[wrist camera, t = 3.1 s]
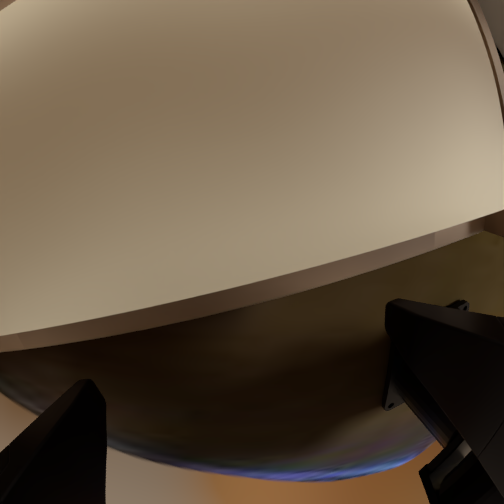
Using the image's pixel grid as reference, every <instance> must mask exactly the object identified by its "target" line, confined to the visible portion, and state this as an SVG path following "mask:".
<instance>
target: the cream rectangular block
mask: <svg viewBox="0 0 504 504" xmlns="http://www.w3.org/2000/svg"><path fill="white" fill-rule="evenodd" d="M501 210H504V126H503V119H502V113H501V107H500V102H499V97H498V92H497V87H496V83H495V79H494V75H493V71H492V67H491V64H490V60H489V57H488V54H487V51H486V48H485V45H484V42H483V39H482V36H481V33H480V30H479V28H478V25H477V23H476V20H475V18H474V15H473V13H472V11H471V8H470V6H469V4H468V2H467V0H16V1H15V2H13V3H11V4H10V5H8V6H7V7H5V8H4V9H2V10H1V11H0V336H3V335H9V334H15V333H21V332H26V331H32V330H38V329H43V328H49V327H54V326H59V325H65V324H70V323H75V322H80V321H85V320H90V319H95V318H100V317H105V316H110V315H115V314H120V313H124V312H129V311H134V310H138V309H143V308H148V307H152V306H157V305H161V304H166V303H170V302H174V301H179V300H183V299H187V298H192V297H196V296H200V295H205V294H209V293H213V292H217V291H221V290H225V289H230V288H234V287H238V286H242V285H246V284H250V283H254V282H258V281H262V280H266V279H270V278H273V277H277V276H281V275H285V274H289V273H293V272H297V271H300V270H304V269H308V268H312V267H315V266H319V265H323V264H326V263H330V262H334V261H337V260H341V259H345V258H348V257H352V256H355V255H359V254H362V253H366V252H369V251H373V250H376V249H380V248H383V247H387V246H390V245H393V244H397V243H400V242H404V241H407V240H410V239H414V238H417V237H420V236H423V235H427V234H430V233H433V232H436V231H440V230H443V229H446V228H449V227H452V226H455V225H459V224H462V223H465V222H468V221H471V220H474V219H477V218H480V217H483V216H486V215H489V214H492V213H495V212H498V211H501Z"/></svg>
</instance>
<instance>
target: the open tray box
mask: <svg viewBox="0 0 504 504" xmlns="http://www.w3.org/2000/svg"><path fill="white" fill-rule="evenodd" d="M15 1H16V0H0V11H1V10H2V9H4V8H5V7H7V6H8V5H10V4H11V3H13V2H15ZM467 2H468V4H469V6H470V8H471V11H472V13H473V15H474V18H475V20H476V23H477V25H478V28H479V30H480V33H481V36H482V39H483V42H484V45H485V48H486V51H487V54H488V57H489V60H490V64H491V67H492V71H493V75H494V79H495V83H496V87H497V92H498V97H499V102H500V107H501V113H502V119H503V126H504V73H503V69H502V65H501V62H500V59H499V55H498V52H497V49H496V46H495V43H494V40H493V37H492V34H491V32H490V29H489V27H488V24H487V21H486V19H485V17H484V14H483V12H482V10H481V7H480V5H479V3H478V1H477V0H467ZM484 230H485V231H488V232H490V233H493V234H496V235H499V236H502V237H504V210H501V211H498V212H495V213H492V214H489V215H486V216H483V217H480V218H477V219H474V220H471V221H468V222H465V223H462V224H459V225H455V226H452V227H449V228H446V229H443V230H440V231H436V232H433V233H430V234H427V235H423V236H420V237H417V238H414V239H410V240H407V241H404V242H400V243H397V244H393V245H390V246H387V247H383V248H380V249H376V250H373V251H369V252H366V253H362V254H359V255H355V256H352V257H348V258H345V259H341V260H337V261H334V262H330V263H326V264H323V265H319V266H315V267H312V268H308V269H304V270H300V271H297V272H293V273H289V274H285V275H281V276H277V277H273V278H270V279H266V280H262V281H258V282H254V283H250V284H246V285H242V286H238V287H234V288H230V289H225V290H221V291H217V292H213V293H209V294H205V295H200V296H196V297H192V298H187V299H183V300H179V301H174V302H170V303H166V304H161V305H157V306H152V307H148V308H143V309H138V310H134V311H129V312H124V313H120V314H115V315H110V316H105V317H100V318H95V319H90V320H85V321H80V322H75V323H70V324H65V325H59V326H54V327H49V328H43V329H38V330H32V331H26V332H21V333H15V334H9V335H3V336H0V352H7V351H16V350H24V349H32V348H39V347H46V346H53V345H60V344H66V343H73V342H79V341H85V340H91V339H97V338H102V337H108V336H113V335H119V334H124V333H129V332H135V331H140V330H145V329H150V328H154V327H159V326H164V325H169V324H173V323H178V322H182V321H187V320H191V319H196V318H200V317H205V316H209V315H213V314H217V313H221V312H226V311H230V310H234V309H238V308H242V307H246V306H250V305H254V304H257V303H261V302H265V301H269V300H273V299H276V298H280V297H284V296H287V295H291V294H295V293H298V292H302V291H305V290H309V289H312V288H316V287H319V286H323V285H326V284H330V283H333V282H336V281H340V280H343V279H346V278H349V277H353V276H356V275H359V274H362V273H365V272H369V271H372V270H375V269H378V268H381V267H384V266H387V265H390V264H393V263H396V262H399V261H402V260H405V259H408V258H411V257H414V256H417V255H420V254H423V253H425V252H428V251H431V250H434V249H437V248H439V247H442V246H445V245H448V244H450V243H453V242H456V241H458V240H461V239H464V238H466V237H469V236H471V235H474V234H477V233H479V232H482V231H484Z"/></svg>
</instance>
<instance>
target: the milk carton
mask: <svg viewBox="0 0 504 504" xmlns="http://www.w3.org/2000/svg"><path fill="white" fill-rule="evenodd" d="M477 1H478V3H479V5H480V7H481V10H482V12H483V14H484V17H485V19H486V21H487V24H488V27H489V29H490V32H491V34H492V37H493V40H494V43H495V44H496V46H497V48H498V49H499V51H500V53H501V54H502V56H503V58H504V0H477Z"/></svg>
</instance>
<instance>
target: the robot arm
mask: <svg viewBox="0 0 504 504" xmlns="http://www.w3.org/2000/svg"><path fill="white" fill-rule="evenodd" d="M468 310H469V303H468V302H467V301H465V300H461V301H459V302H458V303H456V304H454V305H452V306H450V307H449V308H447V307H442V306H436V305H431V304H426V303H420V302H415V301H410V300H404V299H399V298H398V299H395V300H392V301H390V302H388V303H387V304H386V309H385V329H386V332H387V334H388V335H389V337H390V338H391V340H392V342H391V349H390V358H389V365H388V372H387V378H386V385H385V391H384V396H383V401H382V407H383V408H384V410H385V411H389V410H391V409H393V408H395V407H397V406H399V405H400V404H402V403H404V402H405V403H406V404H407V405H408V407H409V408H410V409H411V410H412V411H413V412H414V414H415V415H416V416H417V417H418V418H419V420H420V421H421V422H422V423H423V424H424V426H425V427H426V428H427V429H428V430H429V431H430V433H431V434H432V435H433V436H434V437H435V439H436V440H437V441H438V442H439V443H440V445H441V446H442V447H443V448H444V449H443V450H442V451H441V452H440V453H439V454H438V455H437V456H436V457H435V458H434V459H433V460H432V461H431V462H430V463H429V464H426V465H425V466H424V467H423V468H422V469H421V470H420V471H419V475H420V478H421V480H422V483H423V486H424V488H425V491H426V494H427V496H428V500H429V503H430V504H504V317H496V316H492V315H486V314H481V313H475V312H469V311H468ZM106 455H107V431H106V402H105V399H104V397H103V395H102V394H101V392H100V391H99V389H98V388H97V386H96V385H95V383H94V382H93V381H92V380H91V379H83V380H79V381H77V382H76V383H75V384H74V385H73V386H72V387H71V388H70V389H68V390H67V391H66V392H65V393H64V394H63V395H62V396H61V397H60V398H59V399H57V400H56V401H55V402H54V403H53V404H52V405H51V406H50V407H49V408H48V409H46V410H45V411H44V412H43V413H42V414H41V415H40V416H39V417H38V418H37V419H36V420H35V421H33V422H32V423H31V424H30V425H29V426H28V427H27V428H26V429H25V430H24V431H23V432H22V433H21V434H19V436H17V437H16V438H15V439H14V440H13V441H12V442H11V443H10V444H9V445H8V446H7V447H6V448H5V449H3V450H2V451H1V452H0V504H106V502H105V487H106V486H105V483H106ZM465 456H466V457H465ZM464 457H465V458H464Z"/></svg>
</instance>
